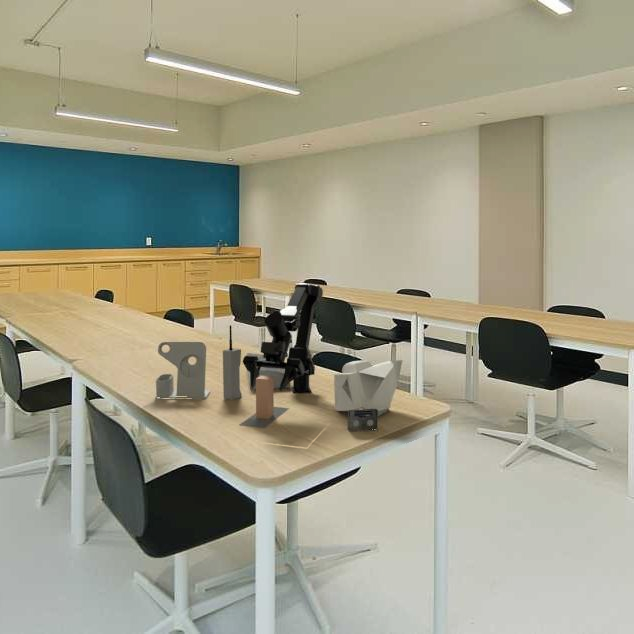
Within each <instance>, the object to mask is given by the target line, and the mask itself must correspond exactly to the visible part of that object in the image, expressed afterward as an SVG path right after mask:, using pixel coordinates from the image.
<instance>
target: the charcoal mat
mask: <svg viewBox="0 0 634 634" xmlns="http://www.w3.org/2000/svg"><path fill="white" fill-rule="evenodd" d="M288 410H290V408H289V407H279V406H274V415H273V416H272V417H271V418H269V419H264V418H256V412H255V413H254V414H251V416H249V417H248V418H246V420H243V422H241V423H240V424H239V426H243V427H250V428H251V427H252V428H260V429H265V428H267V427H268V426H269V425H270V424H272V423H273V422H274V421H276V420H277V419H278V418H279V417H281V416H282V415H284V414H285V412H287V411H288Z"/></svg>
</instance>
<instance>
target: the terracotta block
mask: <svg viewBox="0 0 634 634" xmlns="http://www.w3.org/2000/svg"><path fill="white" fill-rule="evenodd" d="M274 389H275V388H274V386H273V376H262V375H261V376H259V377H258V378H256V389H255V413H256V418H264V419H269V418H271V417H272V416H273V415H274V407H275V406H274V405H275V404H274V400H275V399H274V396H275V393H274Z"/></svg>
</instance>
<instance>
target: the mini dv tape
mask: <svg viewBox="0 0 634 634" xmlns="http://www.w3.org/2000/svg"><path fill="white" fill-rule="evenodd" d="M378 418H379V417H378V410H377V409H362V408H361V409H358V410H348V411H347V431H348V430H349V431H348V432H358V431H357V430H371V431H375V430H374V429H377V430H378V421H379V419H378ZM372 429H373V430H372Z"/></svg>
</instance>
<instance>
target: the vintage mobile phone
mask: <svg viewBox="0 0 634 634" xmlns="http://www.w3.org/2000/svg"><path fill="white" fill-rule="evenodd" d="M228 340H229V348H228V349H223V350H222V375H223V376H222V377H223V378H222V379H223V381H222V382H223V383H222V386H223V387H222V388H223V391H222V393H223V400H229V401H233V400H236V399H240V398H241V397H243V396H242V395H243V394H242V391H241V388H240V386H241V383H240V381H241V380H240V379H241V378H240V370H241V369H240V366H241V364H242V363H241V362H242V361H241V359H242V349H241V348H235V347H233V339H232V325H229V339H228Z"/></svg>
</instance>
